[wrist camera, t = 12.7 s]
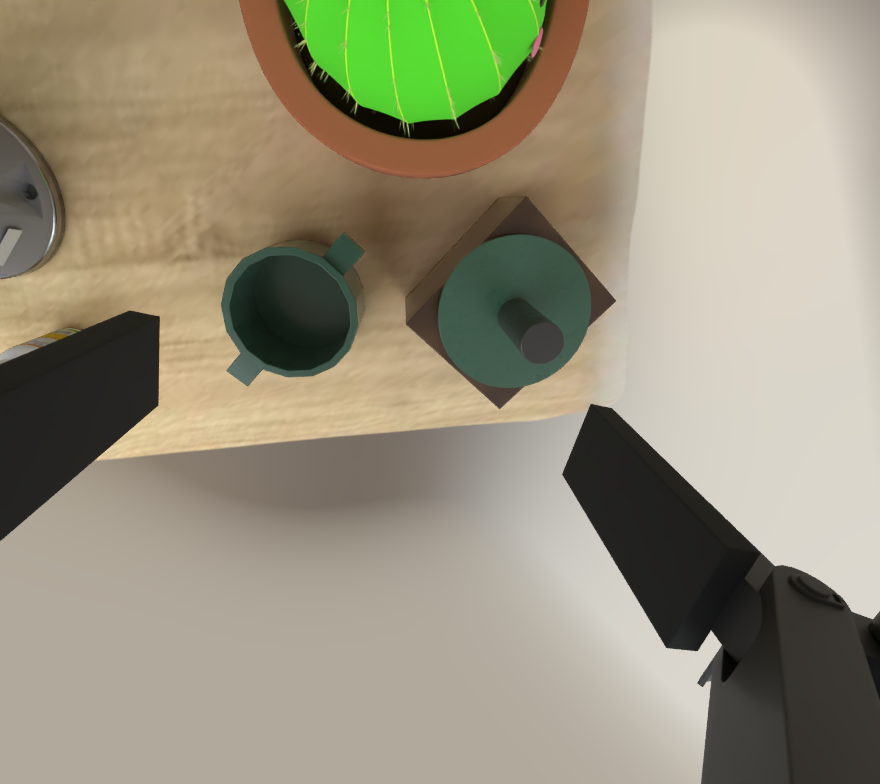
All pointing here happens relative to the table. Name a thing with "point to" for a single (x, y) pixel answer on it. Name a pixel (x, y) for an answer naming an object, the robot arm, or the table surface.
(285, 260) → the pot
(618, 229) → the table surface
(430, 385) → the table surface
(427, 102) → the potted cactus
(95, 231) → the table surface
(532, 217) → the wooden side table
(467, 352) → the lid
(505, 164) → the table surface
